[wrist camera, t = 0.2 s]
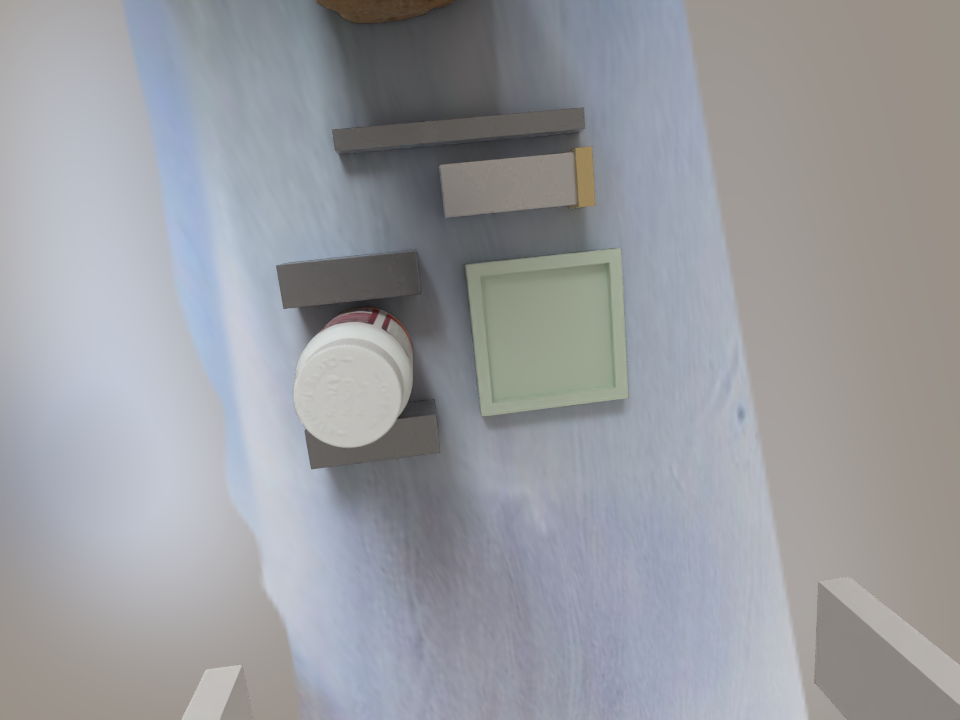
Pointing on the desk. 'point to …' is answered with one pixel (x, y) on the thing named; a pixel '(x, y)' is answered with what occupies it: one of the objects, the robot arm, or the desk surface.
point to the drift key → (518, 183)
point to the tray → (548, 330)
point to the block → (381, 9)
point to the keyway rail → (458, 130)
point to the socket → (357, 283)
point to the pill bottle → (354, 378)
